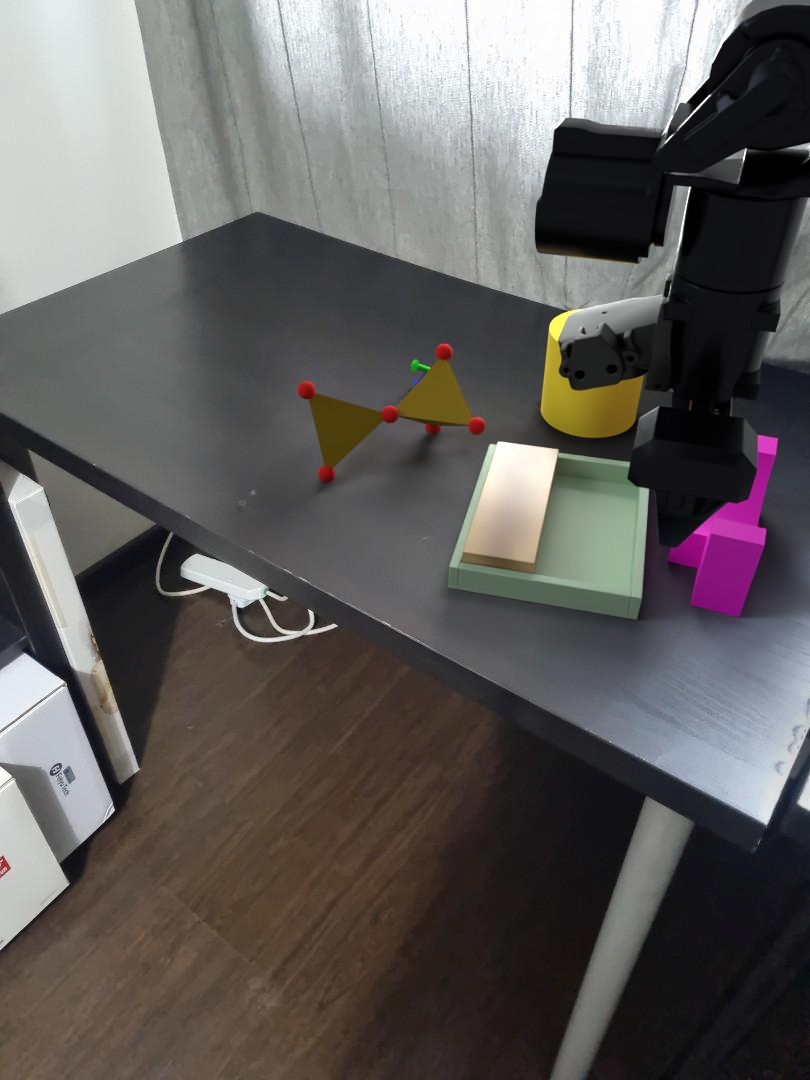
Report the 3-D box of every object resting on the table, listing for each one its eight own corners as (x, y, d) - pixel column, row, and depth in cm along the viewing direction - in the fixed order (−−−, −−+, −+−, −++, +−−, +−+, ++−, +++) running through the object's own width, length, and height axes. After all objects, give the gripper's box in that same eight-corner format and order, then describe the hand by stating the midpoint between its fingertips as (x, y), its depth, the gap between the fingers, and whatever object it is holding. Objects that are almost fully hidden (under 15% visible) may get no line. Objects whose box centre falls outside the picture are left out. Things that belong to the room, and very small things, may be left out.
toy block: (685, 492, 77) (702, 424, 73) (755, 507, 76) (777, 438, 71) (658, 596, 67) (676, 525, 62) (738, 617, 65) (764, 545, 60)
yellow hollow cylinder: (650, 432, 85) (667, 349, 79) (556, 442, 84) (566, 358, 78) (616, 384, 93) (630, 304, 87) (529, 392, 92) (537, 312, 85)
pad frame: (646, 485, 78) (650, 464, 77) (636, 620, 65) (642, 598, 63) (488, 463, 81) (489, 443, 80) (448, 588, 68) (448, 566, 67)
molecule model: (273, 402, 89) (273, 312, 79) (430, 381, 94) (448, 294, 84) (312, 518, 80) (317, 433, 70) (481, 488, 85) (508, 405, 76)
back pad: (555, 475, 79) (559, 449, 77) (531, 590, 67) (534, 563, 65) (496, 466, 80) (497, 441, 78) (461, 579, 68) (462, 551, 66)
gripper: (602, 202, 53) (575, 411, 63) (546, 329, 40) (523, 568, 50) (787, 217, 50) (728, 434, 60) (793, 359, 37) (716, 607, 47)
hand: (674, 501), depth 54 cm, fingers open, 9 cm apart
